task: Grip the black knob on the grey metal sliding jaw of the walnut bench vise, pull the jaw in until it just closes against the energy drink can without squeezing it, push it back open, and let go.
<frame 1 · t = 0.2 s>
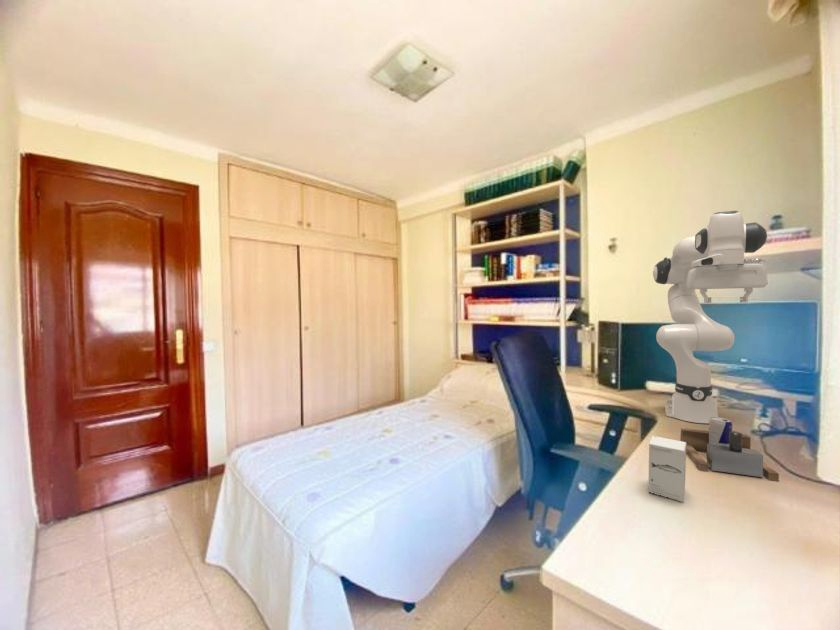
hand: (725, 302, 115), 48 cm above the table, tool pointing down, fingers open, 8 cm apart
energy drink: (720, 458, 107), resting in vise frame
vise frame: (724, 462, 104), on the table
supplement box: (666, 492, 88), on the table
sliding jaw: (734, 451, 98), point 6 cm above the table, slide at 0.0 cm
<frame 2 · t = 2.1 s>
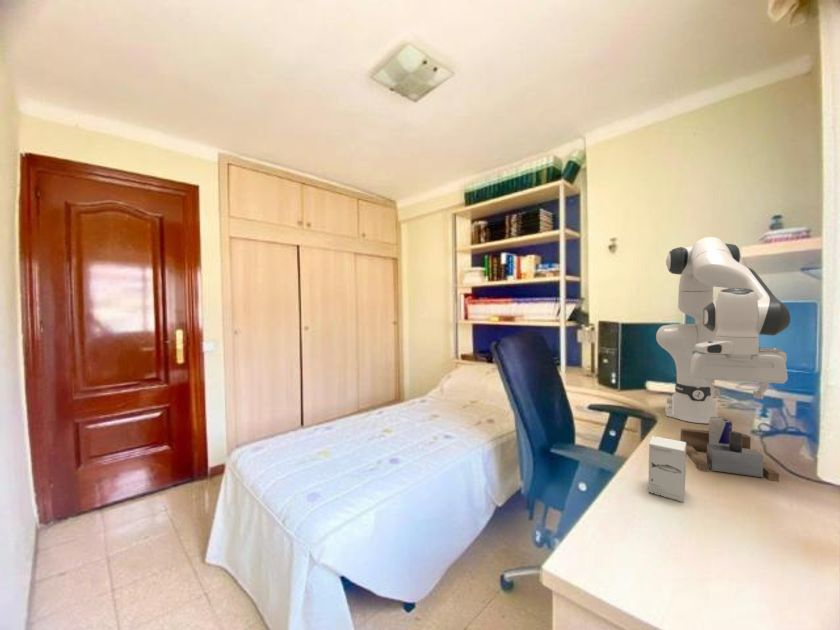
hand: (736, 396, 97), 21 cm above the table, tool pointing down, fingers open, 8 cm apart
nothing on the table moved.
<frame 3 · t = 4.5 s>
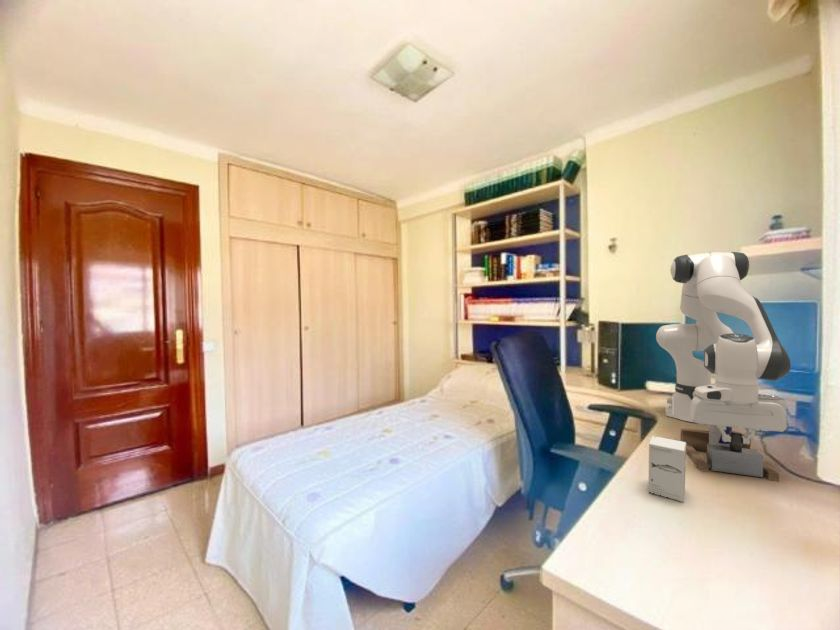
hand: (735, 442, 97), 9 cm above the table, tool pointing down, fingers closed on sliding jaw, 3 cm apart
sliding jaw: (734, 451, 98), point 6 cm above the table, slide at 0.0 cm, touching gripper
everything else where it was.
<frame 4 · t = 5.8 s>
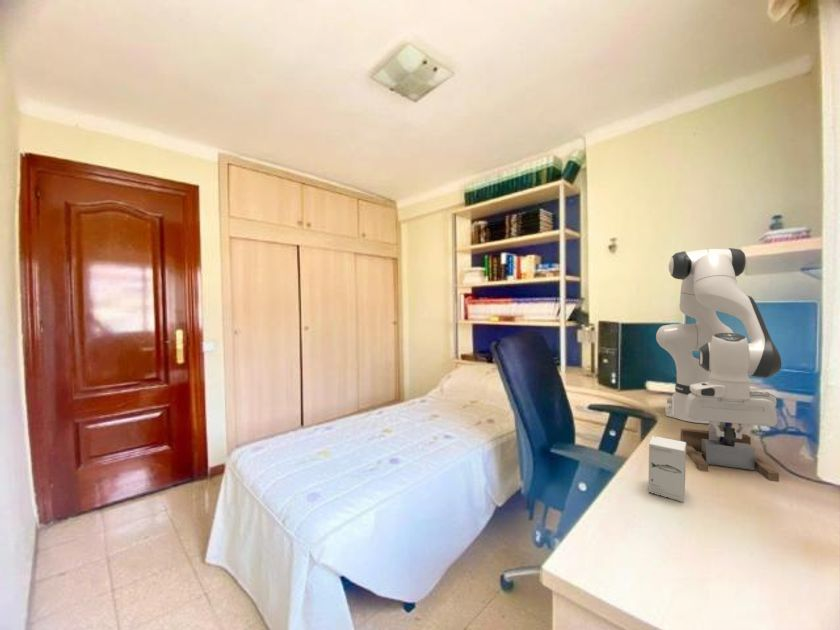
hand: (728, 437, 101), 8 cm above the table, tool pointing down, fingers closed on sliding jaw, 3 cm apart
sliding jaw: (727, 445, 102), point 6 cm above the table, slide at 4.5 cm, touching gripper
everything else where it was.
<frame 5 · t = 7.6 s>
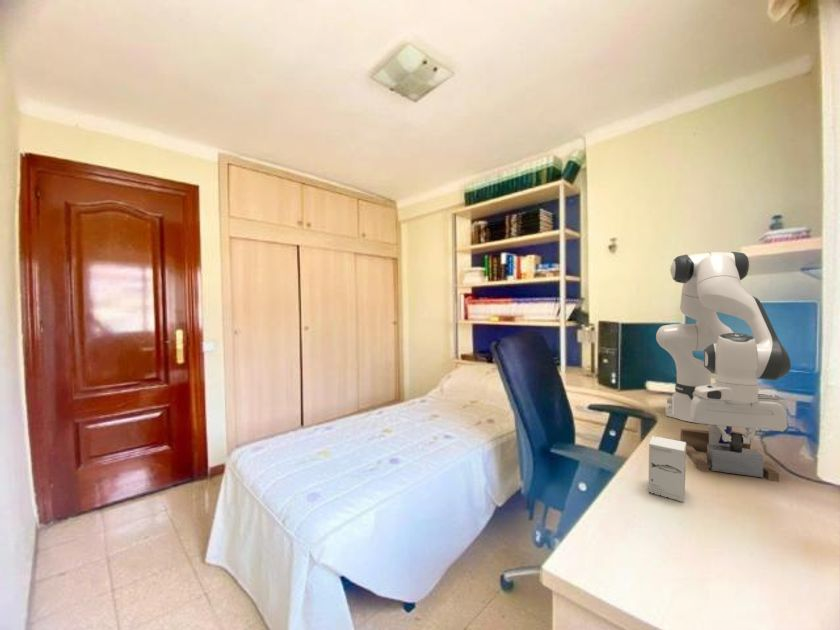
hand: (735, 442, 97), 9 cm above the table, tool pointing down, fingers closed on sliding jaw, 3 cm apart
sliding jaw: (734, 451, 98), point 6 cm above the table, slide at -0.1 cm, touching gripper
everything else where it was.
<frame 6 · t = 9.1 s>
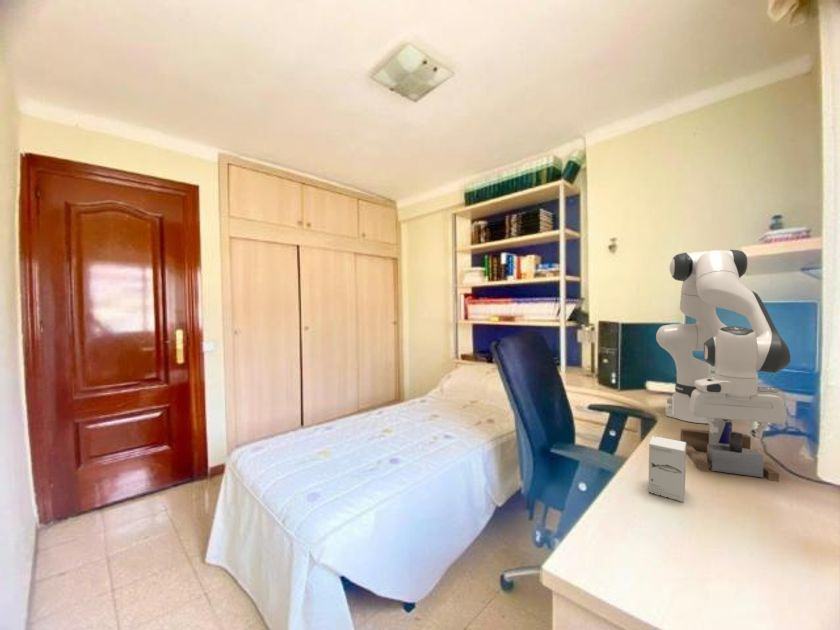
hand: (735, 434, 97), 11 cm above the table, tool pointing down, fingers open, 8 cm apart
sliding jaw: (734, 451, 98), point 6 cm above the table, slide at -0.1 cm
everything else where it was.
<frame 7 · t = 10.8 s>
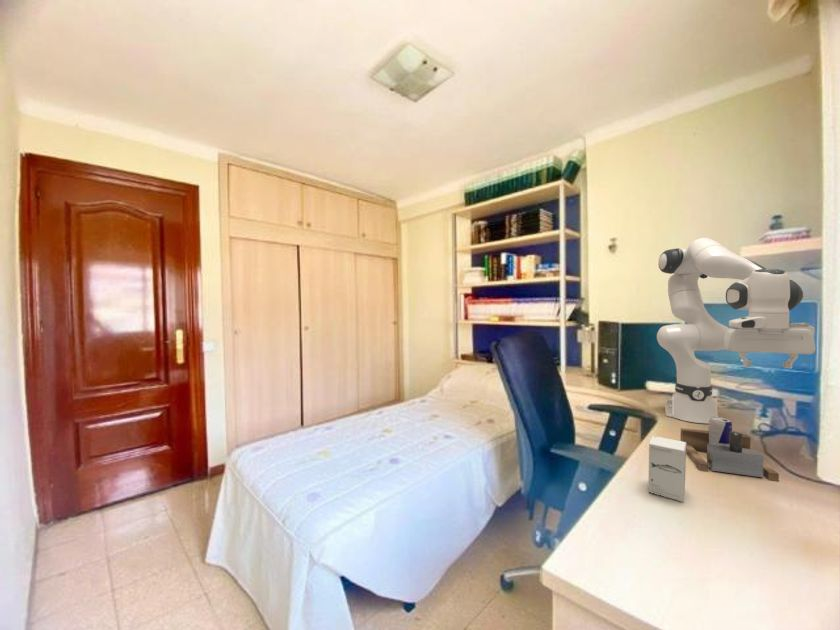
hand: (766, 367, 107), 28 cm above the table, tool pointing down, fingers open, 8 cm apart
nothing on the table moved.
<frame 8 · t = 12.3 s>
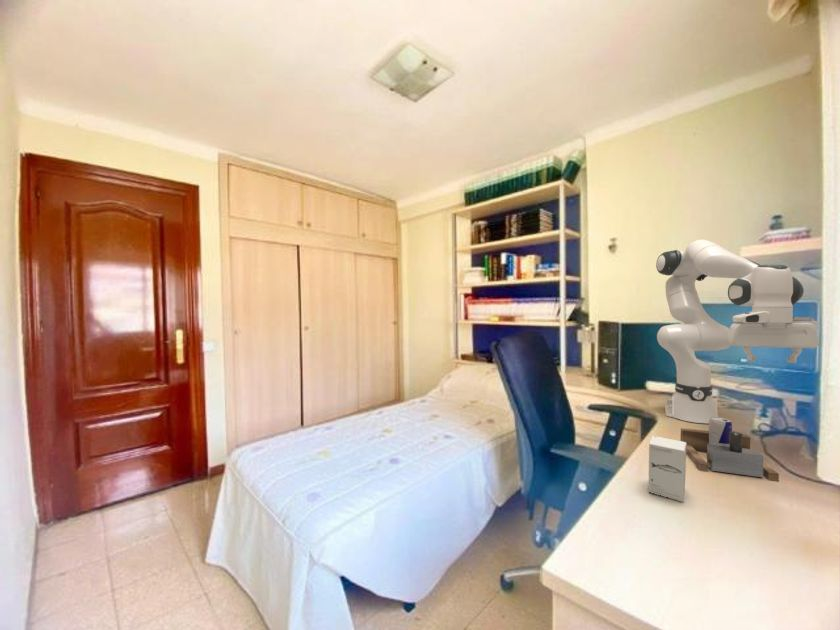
hand: (771, 361, 108), 29 cm above the table, tool pointing down, fingers open, 8 cm apart
nothing on the table moved.
at the end: sliding jaw slide at -0.1 cm; the gripper is holding nothing; energy drink tilted 0° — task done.
